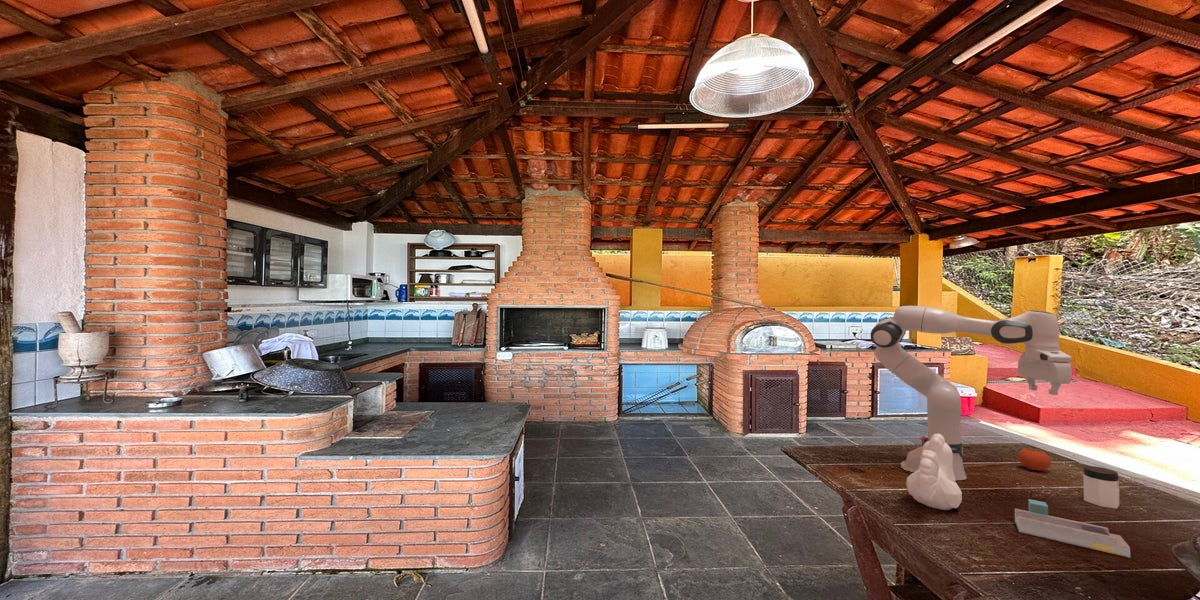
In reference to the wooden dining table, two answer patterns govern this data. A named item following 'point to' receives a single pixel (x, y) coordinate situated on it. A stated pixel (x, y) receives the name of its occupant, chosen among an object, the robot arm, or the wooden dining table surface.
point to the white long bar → (1071, 532)
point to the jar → (1101, 486)
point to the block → (1038, 507)
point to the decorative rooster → (935, 476)
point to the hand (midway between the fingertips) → (1042, 392)
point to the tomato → (1034, 459)
